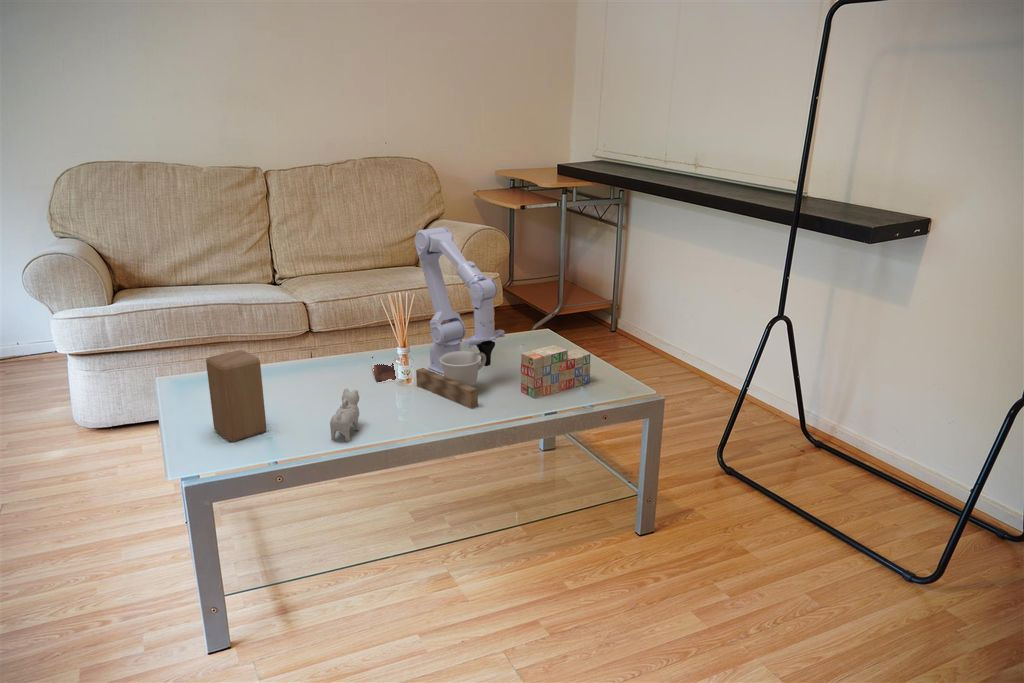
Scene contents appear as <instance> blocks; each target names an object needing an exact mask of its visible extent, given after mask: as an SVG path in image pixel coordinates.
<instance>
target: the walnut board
mask: <svg viewBox="0 0 1024 683" xmlns="http://www.w3.org/2000/svg"><path fill="white" fill-rule="evenodd" d="M415 371H416V373H415V374H416V376H415V377H416V387H418V388H421V389H423V390H426V391H429V392H431V393H432V394H435V395H437V396H439V397H443V398H445V399H447V400H449V401H452V402H454V403H457V404H459V405H461V406H463V407H467V408H468V409H471V410H472V409H474V408H477V407H479V391H478V390H479V388H475V387H474V386H472V387H471V386H468V385H465V384H463V383H460V382H458V381H455V380H451V379H448V378H446V377H445V376H444V375H443V374H441V373H437V372H436V371H435V372H434V371H433V370H431V369H430V370H429V369H427V368H424V367H421V368H417V369H416V370H415Z"/></svg>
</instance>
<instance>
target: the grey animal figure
mask: <svg viewBox="0 0 1024 683" xmlns="http://www.w3.org/2000/svg"><path fill="white" fill-rule="evenodd" d="M359 401H360V395H359V390H357V389H353V390H352V391H349V388H345V389H343V392H342V395H341V402H342V404H341V405H339V408H338V409H337V410H336V412H335V414H334V415H332V417H331V418H330V422H329V427H330V436H331V439H330V440H331V441H332V440H335V441H336V434H337V432H339V433H341V434H343V436H344V437H345V438H344V442H346V441H347V443H349V442H351V438H350V426H351V425H352V426H353V428H354V431H355V430H359V431H361V428H360V425H359V417H360V410H359V407H358V403H359Z"/></svg>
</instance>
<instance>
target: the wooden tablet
mask: <svg viewBox="0 0 1024 683" xmlns="http://www.w3.org/2000/svg"><path fill="white" fill-rule="evenodd" d="M393 365H394V364H393V363H392V365H391V366H392V367H391V366H388V365H384V364H383V365H382V364H381V365H380V364H379V365H378V364H377V365H374V368H373V369H374V371H373V369H372V373H373V376H375V377H374V380H375V382H376V383H378V382H382V381H386V380H388V379H392V380H395V379H396V376H395V370H394V366H393Z"/></svg>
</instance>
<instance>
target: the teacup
mask: <svg viewBox="0 0 1024 683" xmlns="http://www.w3.org/2000/svg"><path fill="white" fill-rule="evenodd" d="M481 356H482V358H481ZM481 359H482V362H481ZM439 361H440V362H441V363H442V366H443V371H444V374H443V376H445V377H446V378H448V379H451V380H455V381H458V382H460V383H463V384H465V385H468V386H471V387H474V386H475V385H476V384H477V380H478V375H479V370H481V369H482V368H483V367H484V365H485V363H486V355H485V354H484V353H482V352H480V351H479V352H478V353H477V352H475V351H474V352H473V351H468V350H460V351H456V352H450V353H447V354H444V355H443V356H441V357H440V359H439Z"/></svg>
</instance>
